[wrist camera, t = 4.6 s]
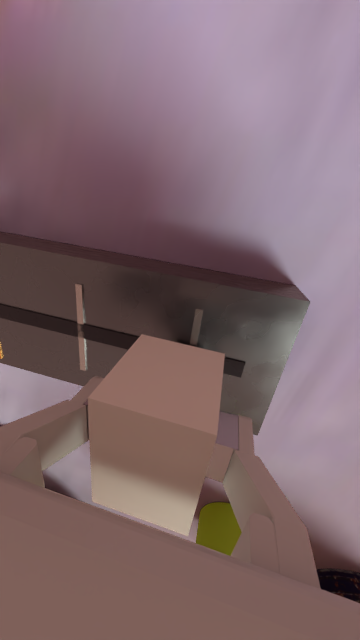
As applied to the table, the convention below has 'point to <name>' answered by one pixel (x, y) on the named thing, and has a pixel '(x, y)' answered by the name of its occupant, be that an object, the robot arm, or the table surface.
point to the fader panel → (141, 316)
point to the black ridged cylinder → (340, 583)
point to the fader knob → (155, 431)
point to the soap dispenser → (218, 528)
